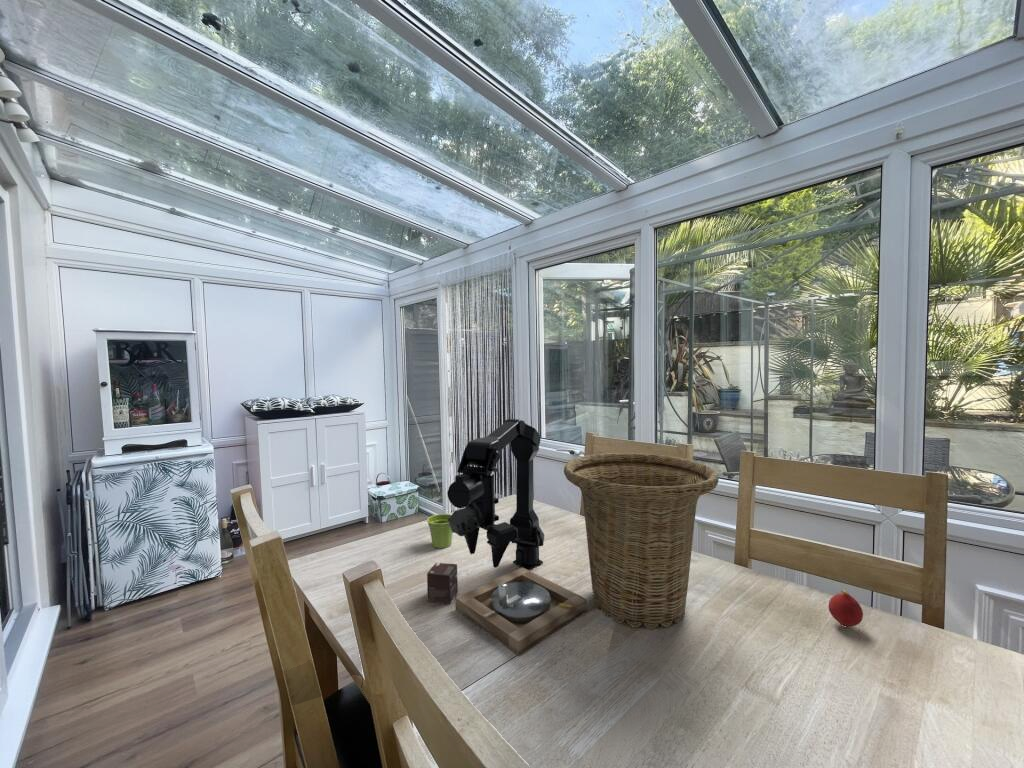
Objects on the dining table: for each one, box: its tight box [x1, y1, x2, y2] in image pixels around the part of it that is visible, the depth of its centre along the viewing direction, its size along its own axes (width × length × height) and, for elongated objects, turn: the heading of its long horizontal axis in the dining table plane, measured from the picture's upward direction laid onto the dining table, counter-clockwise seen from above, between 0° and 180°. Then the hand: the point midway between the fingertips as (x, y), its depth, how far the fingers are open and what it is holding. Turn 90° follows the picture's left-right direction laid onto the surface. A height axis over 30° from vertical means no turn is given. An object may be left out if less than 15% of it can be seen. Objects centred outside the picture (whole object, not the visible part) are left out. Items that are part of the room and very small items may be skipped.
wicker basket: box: [563, 452, 719, 630], centre depth 101 cm, size 35×35×33 cm
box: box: [426, 562, 459, 605], centre depth 105 cm, size 6×6×7 cm
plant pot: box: [426, 513, 453, 549], centre depth 136 cm, size 9×9×9 cm
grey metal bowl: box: [491, 582, 551, 624], centre depth 98 cm, size 14×14×7 cm
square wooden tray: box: [454, 567, 588, 657], centre depth 98 cm, size 22×22×3 cm
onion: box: [827, 589, 864, 628], centre depth 91 cm, size 6×6×8 cm
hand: (483, 560), depth 98 cm, fingers open, 9 cm apart
